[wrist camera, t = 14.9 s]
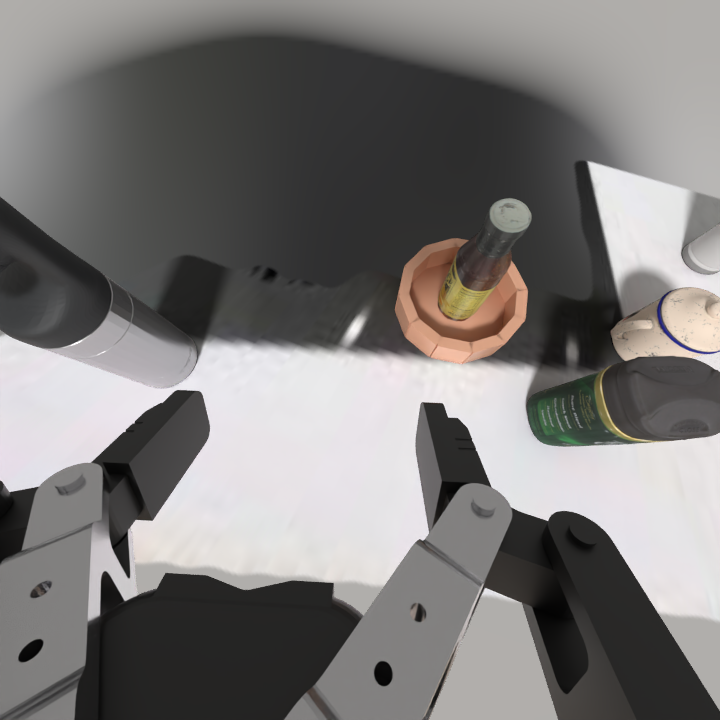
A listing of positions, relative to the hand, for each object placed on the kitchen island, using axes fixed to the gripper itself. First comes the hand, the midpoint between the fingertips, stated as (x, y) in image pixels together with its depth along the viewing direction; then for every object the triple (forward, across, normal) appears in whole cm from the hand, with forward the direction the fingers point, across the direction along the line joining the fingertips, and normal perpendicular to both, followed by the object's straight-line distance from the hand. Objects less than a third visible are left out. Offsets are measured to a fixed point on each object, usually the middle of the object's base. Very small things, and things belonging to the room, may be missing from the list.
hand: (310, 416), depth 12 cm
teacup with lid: (+36, -42, +12) cm, 57 cm away
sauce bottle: (+39, -15, +8) cm, 42 cm away
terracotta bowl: (+40, -15, +8) cm, 43 cm away
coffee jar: (+28, -30, +20) cm, 45 cm away
